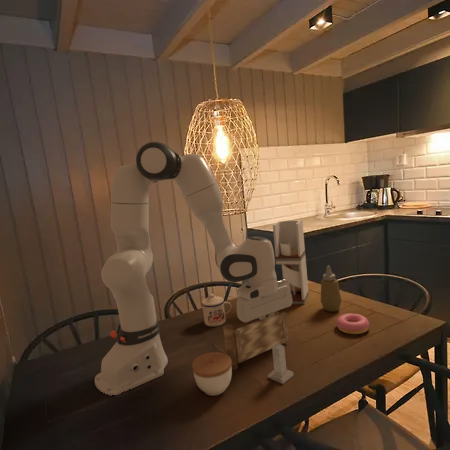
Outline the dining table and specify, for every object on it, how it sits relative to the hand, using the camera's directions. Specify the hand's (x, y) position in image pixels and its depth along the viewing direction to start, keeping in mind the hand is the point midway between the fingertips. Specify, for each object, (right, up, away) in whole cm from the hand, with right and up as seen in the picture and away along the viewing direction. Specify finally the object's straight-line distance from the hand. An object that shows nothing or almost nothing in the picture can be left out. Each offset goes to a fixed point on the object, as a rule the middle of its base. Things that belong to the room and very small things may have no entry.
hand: (267, 326), depth 106 cm
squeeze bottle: (+29, -1, +24) cm, 38 cm away
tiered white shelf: (+17, 0, +39) cm, 43 cm away
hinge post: (-12, -10, -9) cm, 18 cm away
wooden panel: (-2, -7, -3) cm, 8 cm away
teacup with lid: (-17, -6, +25) cm, 31 cm away
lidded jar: (-17, -12, -18) cm, 27 cm away
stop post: (+2, -9, -16) cm, 18 cm away
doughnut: (+31, -3, +7) cm, 32 cm away
